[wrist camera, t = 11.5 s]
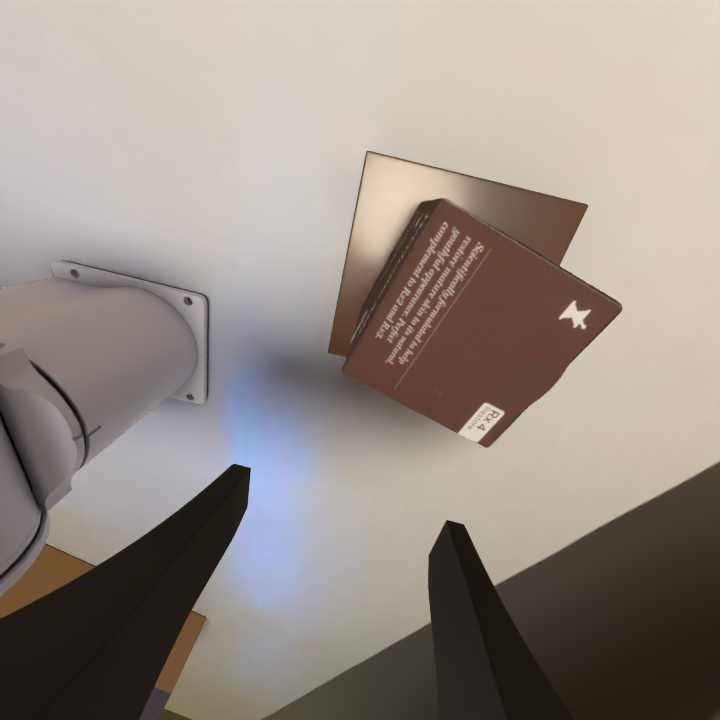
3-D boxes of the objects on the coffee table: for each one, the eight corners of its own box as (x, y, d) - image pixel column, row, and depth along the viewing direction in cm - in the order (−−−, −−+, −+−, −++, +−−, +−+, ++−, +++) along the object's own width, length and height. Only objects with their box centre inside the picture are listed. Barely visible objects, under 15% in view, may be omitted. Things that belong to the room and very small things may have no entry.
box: (422, 197, 14) (444, 186, 8) (530, 264, 15) (635, 306, 9) (358, 310, 17) (334, 375, 10) (454, 363, 18) (488, 455, 11)
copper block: (333, 340, 20) (327, 353, 18) (369, 156, 16) (366, 150, 14) (488, 378, 20) (497, 395, 18) (567, 205, 16) (589, 204, 14)
